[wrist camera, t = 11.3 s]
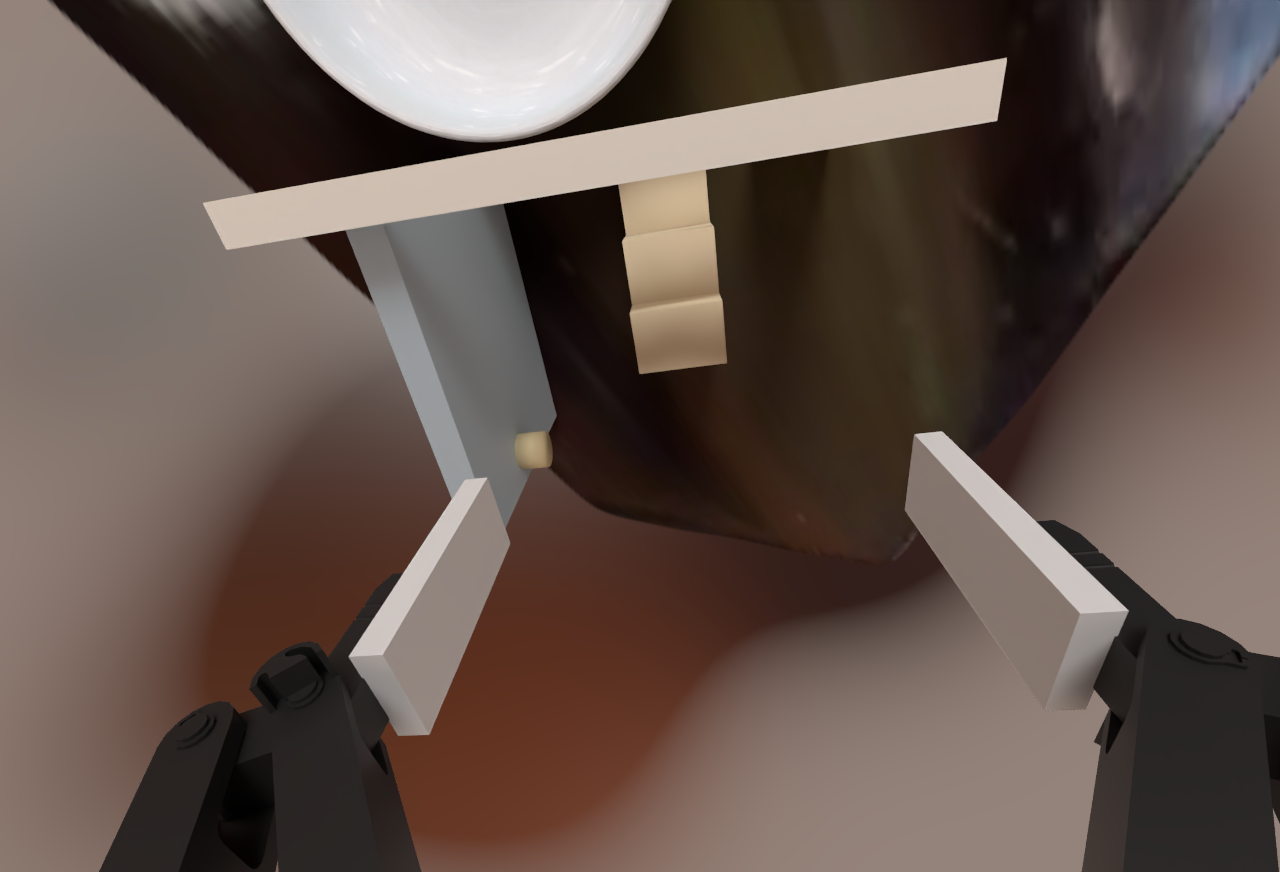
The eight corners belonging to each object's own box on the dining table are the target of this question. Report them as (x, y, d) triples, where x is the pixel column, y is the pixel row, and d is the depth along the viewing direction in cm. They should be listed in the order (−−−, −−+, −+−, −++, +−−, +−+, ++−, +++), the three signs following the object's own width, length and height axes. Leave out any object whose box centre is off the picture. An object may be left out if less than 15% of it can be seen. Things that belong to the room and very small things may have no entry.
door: (576, 413, 38) (528, 540, 25) (538, 417, 39) (470, 545, 25) (522, 180, 31) (413, 187, 18) (475, 188, 31) (334, 201, 18)
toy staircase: (621, 178, 31) (608, 180, 24) (701, 164, 30) (712, 163, 23) (645, 333, 35) (639, 374, 28) (715, 324, 35) (726, 363, 28)
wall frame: (830, 116, 29) (1007, 57, 14) (829, 146, 29) (996, 121, 14) (423, 187, 32) (202, 202, 17) (431, 213, 32) (226, 249, 17)
